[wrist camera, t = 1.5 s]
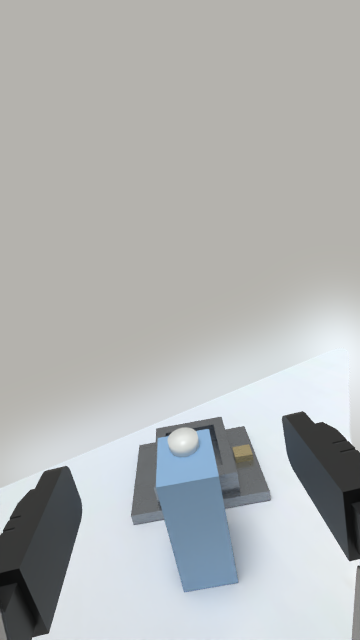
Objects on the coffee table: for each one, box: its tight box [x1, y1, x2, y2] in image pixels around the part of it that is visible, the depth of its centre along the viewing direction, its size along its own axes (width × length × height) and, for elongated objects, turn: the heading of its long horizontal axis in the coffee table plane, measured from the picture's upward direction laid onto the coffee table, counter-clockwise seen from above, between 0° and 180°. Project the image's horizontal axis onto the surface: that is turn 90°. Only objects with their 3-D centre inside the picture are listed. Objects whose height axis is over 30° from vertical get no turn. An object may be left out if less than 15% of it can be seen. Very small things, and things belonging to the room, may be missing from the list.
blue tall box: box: [156, 428, 238, 592], centre depth 24 cm, size 4×5×12 cm
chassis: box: [131, 417, 270, 525], centre depth 34 cm, size 14×10×4 cm
